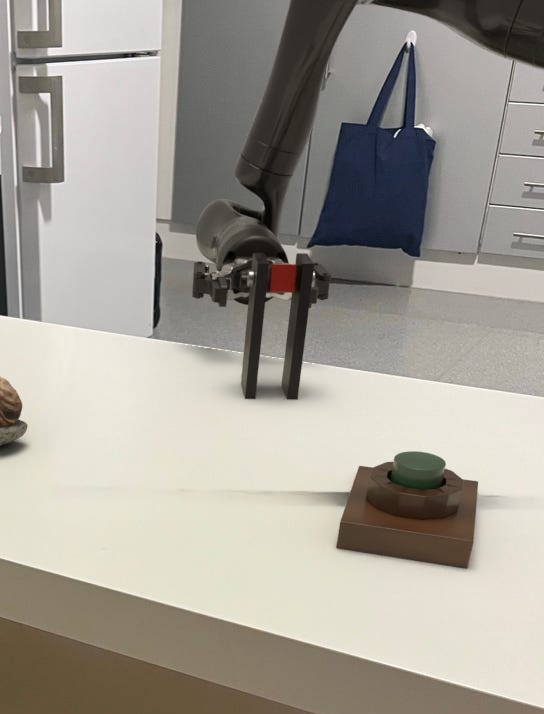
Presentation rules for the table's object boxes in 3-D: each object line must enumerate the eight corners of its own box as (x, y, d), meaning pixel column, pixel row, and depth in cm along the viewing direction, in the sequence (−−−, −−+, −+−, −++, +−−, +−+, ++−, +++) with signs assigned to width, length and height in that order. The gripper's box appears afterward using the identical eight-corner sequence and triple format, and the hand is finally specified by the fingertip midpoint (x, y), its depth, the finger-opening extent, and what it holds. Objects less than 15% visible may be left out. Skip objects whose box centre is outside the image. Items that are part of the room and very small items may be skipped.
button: (392, 470, 76) (396, 448, 75) (442, 477, 75) (447, 454, 74) (387, 488, 73) (391, 466, 72) (439, 495, 72) (444, 472, 71)
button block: (355, 490, 82) (362, 443, 80) (472, 507, 79) (483, 459, 77) (335, 548, 73) (343, 498, 71) (466, 569, 71) (479, 517, 68)
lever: (238, 293, 105) (240, 268, 104) (287, 293, 104) (289, 269, 104) (254, 291, 92) (256, 263, 91) (309, 292, 92) (312, 264, 91)
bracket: (222, 388, 104) (234, 246, 96) (301, 389, 103) (319, 247, 96) (230, 422, 95) (243, 270, 88) (316, 424, 95) (337, 270, 88)
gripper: (190, 227, 114) (198, 257, 100) (317, 228, 113) (343, 259, 100) (185, 295, 118) (193, 334, 104) (309, 296, 117) (332, 335, 104)
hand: (266, 297), depth 102 cm, fingers open, 8 cm apart
